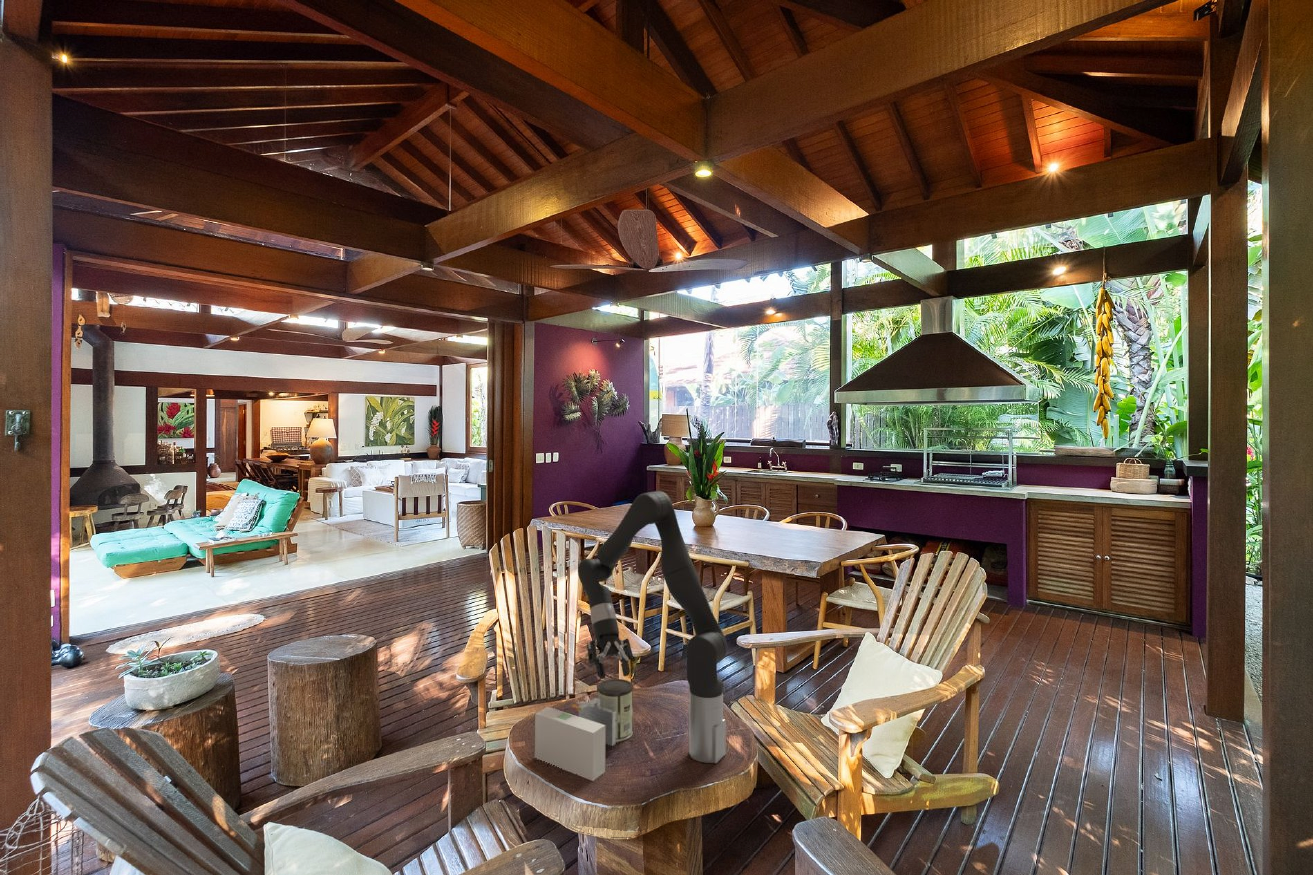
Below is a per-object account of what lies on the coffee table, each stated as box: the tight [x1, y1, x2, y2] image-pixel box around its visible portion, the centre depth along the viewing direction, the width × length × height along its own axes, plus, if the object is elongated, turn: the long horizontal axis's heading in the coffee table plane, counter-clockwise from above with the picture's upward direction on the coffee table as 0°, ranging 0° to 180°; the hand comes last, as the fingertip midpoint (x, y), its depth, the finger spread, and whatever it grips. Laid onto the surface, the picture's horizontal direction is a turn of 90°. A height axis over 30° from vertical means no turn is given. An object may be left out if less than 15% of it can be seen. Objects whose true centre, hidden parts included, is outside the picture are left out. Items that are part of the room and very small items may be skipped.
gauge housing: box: [534, 706, 606, 782], centre depth 156 cm, size 20×5×12 cm, turn 58°
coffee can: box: [597, 678, 634, 743], centre depth 173 cm, size 10×10×14 cm
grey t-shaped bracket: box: [571, 697, 617, 747], centre depth 163 cm, size 12×8×11 cm, turn 58°
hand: (614, 676), depth 170 cm, fingers open, 8 cm apart
